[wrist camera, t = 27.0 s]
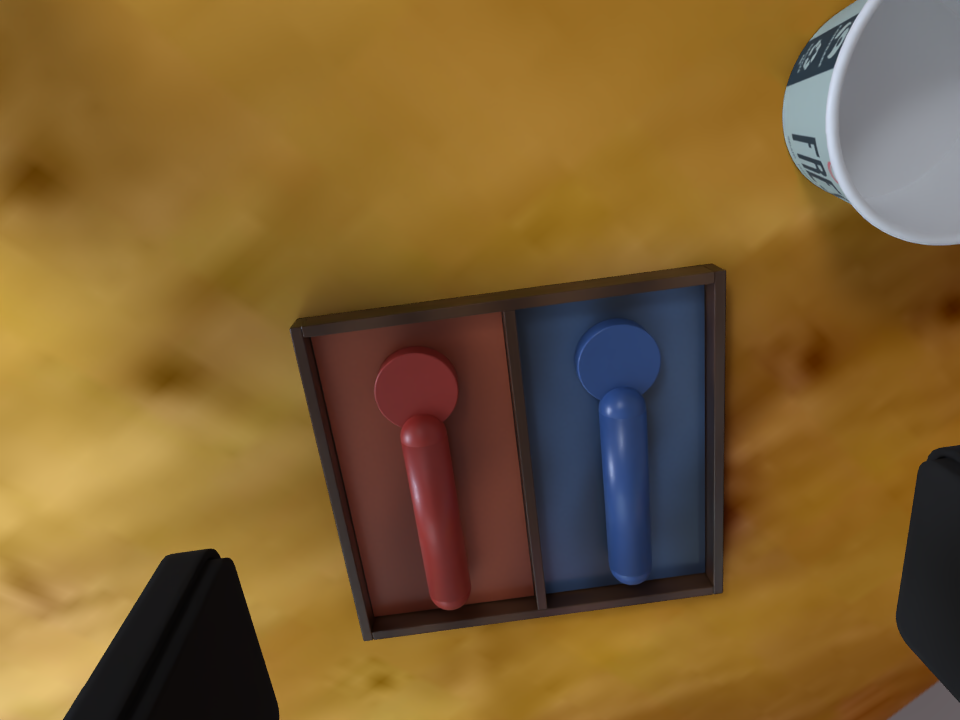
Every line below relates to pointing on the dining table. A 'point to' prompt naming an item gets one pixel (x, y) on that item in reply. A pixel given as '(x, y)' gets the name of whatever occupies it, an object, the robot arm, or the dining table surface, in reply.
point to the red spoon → (428, 462)
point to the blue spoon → (622, 436)
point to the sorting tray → (523, 448)
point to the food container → (883, 115)
